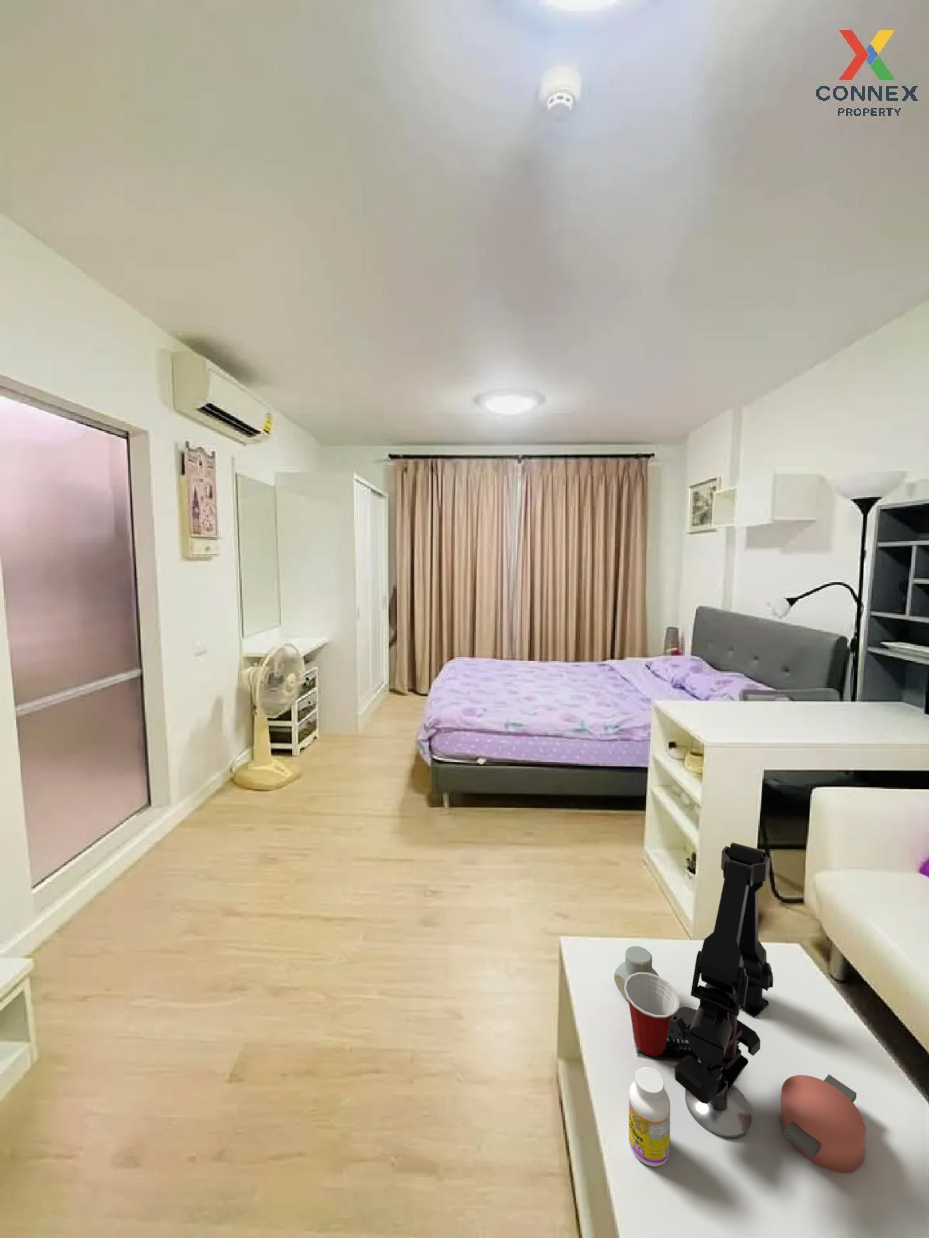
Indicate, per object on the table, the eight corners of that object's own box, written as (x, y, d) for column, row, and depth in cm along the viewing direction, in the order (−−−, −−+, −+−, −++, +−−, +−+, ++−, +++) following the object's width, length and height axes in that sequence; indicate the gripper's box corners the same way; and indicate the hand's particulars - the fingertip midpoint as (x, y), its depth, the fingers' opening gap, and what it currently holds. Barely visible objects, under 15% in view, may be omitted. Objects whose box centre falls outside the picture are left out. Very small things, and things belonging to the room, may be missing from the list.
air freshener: (669, 1005, 120) (669, 964, 119) (640, 1018, 117) (640, 975, 116) (636, 972, 130) (636, 934, 129) (609, 983, 127) (609, 944, 126)
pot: (805, 1079, 102) (806, 1055, 101) (881, 1133, 92) (882, 1107, 92) (760, 1134, 92) (761, 1108, 92) (839, 1200, 83) (841, 1171, 82)
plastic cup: (656, 1079, 103) (657, 1022, 102) (612, 1039, 112) (613, 986, 111) (690, 1050, 109) (691, 996, 108) (646, 1014, 118) (646, 964, 117)
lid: (706, 1067, 105) (706, 1039, 104) (763, 1113, 96) (764, 1083, 95) (672, 1100, 99) (673, 1070, 98) (730, 1152, 90) (731, 1120, 89)
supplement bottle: (622, 1129, 94) (622, 1062, 93) (658, 1125, 94) (659, 1058, 93) (638, 1171, 87) (638, 1100, 86) (677, 1166, 88) (677, 1095, 87)
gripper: (706, 970, 108) (705, 1040, 109) (648, 1015, 97) (648, 1093, 98) (762, 1006, 98) (760, 1083, 100) (706, 1060, 88) (704, 1145, 89)
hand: (717, 1098), depth 97 cm, fingers closed on lid, 3 cm apart
